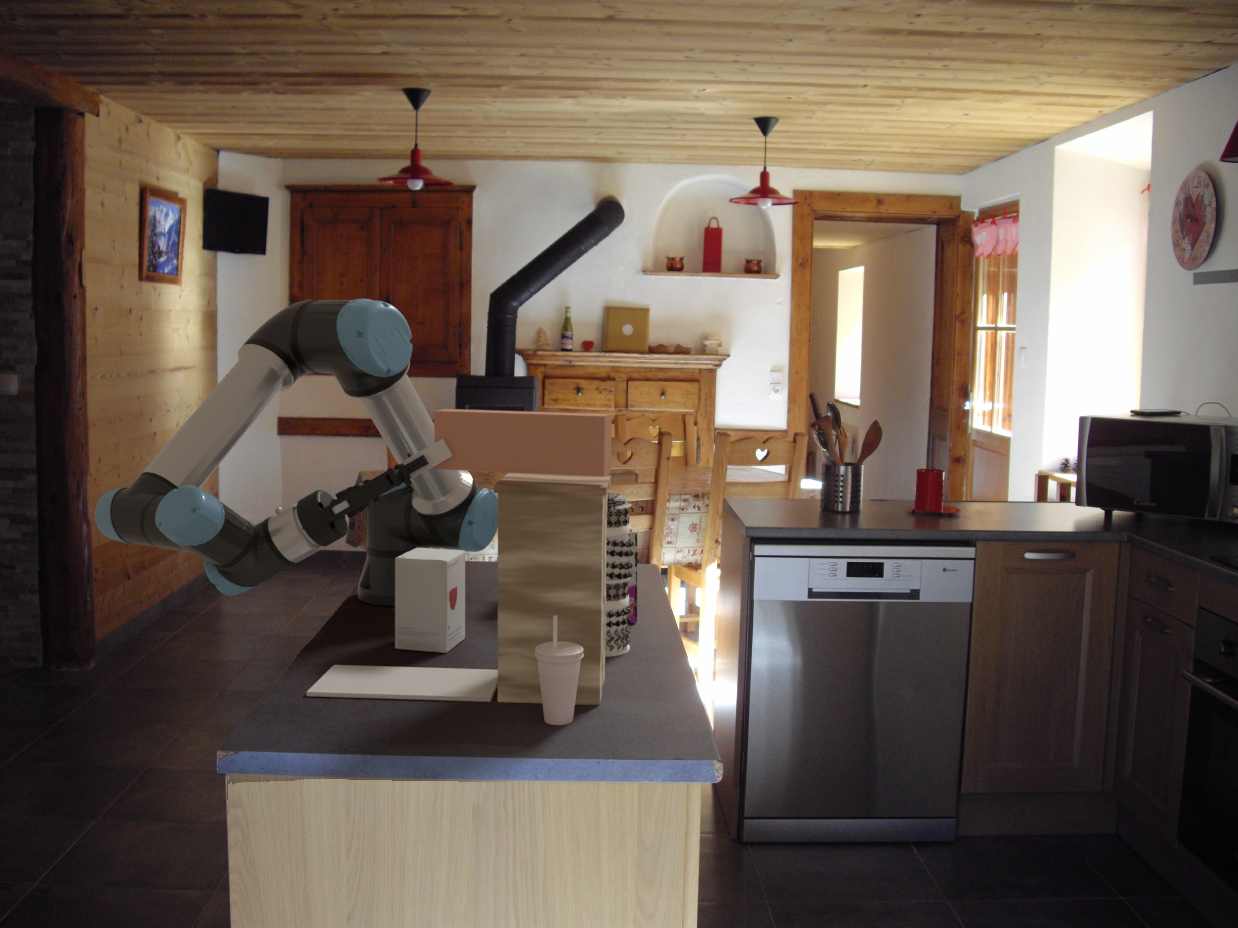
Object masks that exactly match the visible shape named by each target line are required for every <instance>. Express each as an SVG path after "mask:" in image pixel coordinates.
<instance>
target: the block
mask: <svg viewBox="0 0 1238 928" xmlns="http://www.w3.org/2000/svg"><path fill="white" fill-rule="evenodd" d="M433 412H434V415H433V416H434V419H433V424H434V433H435V443H436V442H438V441H439V440H441V439H443V438H444V440H445V441H446V443H447V445H448V447H449V448H450V450H451V452H452V454H453V456H452V457H450V458H448V459H446V460H445V461H443V462H441V463H439V464H437V465H436V466H435V469H446V470H467V471H468V472H469V471H473V472H492V473H493V472H496V473H535V474H557V475H579V476H601V477H604V476H606V475H611V474H612V442H613V441H612V434H613V433H612V431H613V428H612V427H613V414H612V413H590V412H589V413H587V412H586V413H585V412H583V413H581V412H557V411H556V412H553V411H552V412H550V411H549V412H548V411H525V410H524V411H522V410H520V411H519V410H496V409H495V410H489V409H486V410H485V409H460V408H459V409H457V408H454V409H453V408H442V409H438V410H434V411H433Z"/></svg>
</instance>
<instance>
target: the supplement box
mask: <svg viewBox="0 0 1238 928" xmlns="http://www.w3.org/2000/svg"><path fill="white" fill-rule="evenodd" d="M394 617H395V618H394V648H395V649H396V650H407V651H417V652H418V651H420V652H430V653H431V652H432V653H443V654H447V653H448V652H449V651H451V650H452V649H453V648H454V647H456V646H457V645H458V644H460V643H461V642H462V641H463V640H465V639H466V552H465V551H464V550H449V549H442V548H433V547H429V548H415V549H413V550H411V551H409V552H406V553H404V554H403V555H401V556H399V557H396V558H395V605H394Z"/></svg>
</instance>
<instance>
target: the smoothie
mask: <svg viewBox="0 0 1238 928" xmlns="http://www.w3.org/2000/svg"><path fill="white" fill-rule="evenodd" d="M583 656H584V654H583V647H582V646H581V645H579V644H576V643H572V642H562V641H557V615H553V642H547V643H543V644H540V645H538V646H537V647H536V648H535V657H536V658H537V660H538V670H539V678H540V686H541V695H542V703H541V704H542V711H543V717H544V722H545V723H546V724H548V725H553V726H565V725H569V724H571V723H572V722H573V721H574V714H575V713H574V712H575V705H576V704H575V700H576V692H577V685H578V678H579V670H580V663H581V658H583Z"/></svg>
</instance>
